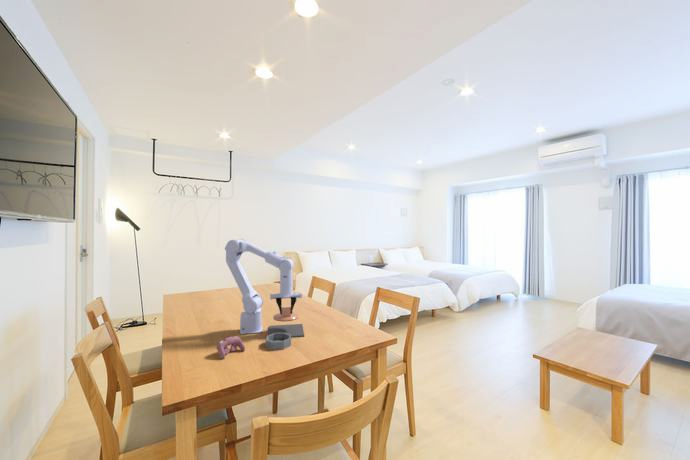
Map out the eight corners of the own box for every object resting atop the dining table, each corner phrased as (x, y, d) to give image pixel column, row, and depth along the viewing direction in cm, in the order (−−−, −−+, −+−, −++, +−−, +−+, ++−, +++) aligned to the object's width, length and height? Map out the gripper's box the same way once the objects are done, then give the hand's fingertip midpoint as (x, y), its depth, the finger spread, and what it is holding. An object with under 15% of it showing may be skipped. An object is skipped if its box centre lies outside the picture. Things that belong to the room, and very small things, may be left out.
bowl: (265, 350, 114) (265, 343, 114) (267, 340, 124) (267, 333, 123) (291, 348, 116) (291, 341, 116) (290, 338, 126) (290, 332, 126)
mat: (267, 339, 125) (267, 337, 125) (269, 326, 140) (269, 325, 140) (304, 336, 128) (304, 335, 128) (302, 325, 143) (302, 323, 143)
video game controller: (241, 352, 116) (236, 334, 117) (246, 350, 113) (242, 332, 115) (217, 361, 108) (213, 342, 110) (222, 359, 105) (218, 339, 107)
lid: (272, 322, 127) (272, 312, 127) (273, 314, 138) (273, 305, 138) (299, 320, 129) (299, 311, 129) (298, 313, 140) (298, 304, 140)
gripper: (269, 287, 128) (269, 317, 128) (302, 286, 131) (302, 315, 131) (270, 283, 135) (270, 312, 135) (301, 282, 138) (301, 310, 138)
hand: (286, 313), depth 134 cm, fingers closed on lid, 4 cm apart
